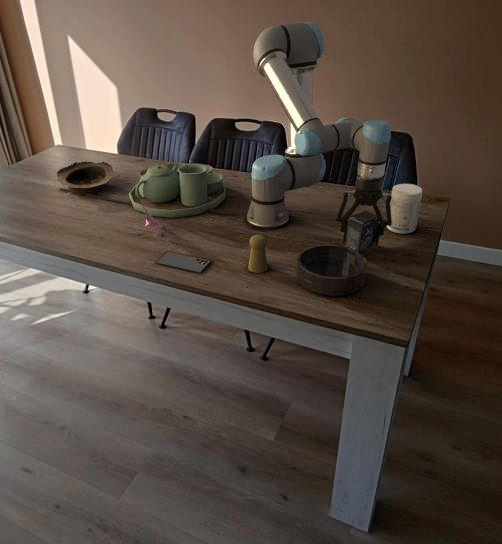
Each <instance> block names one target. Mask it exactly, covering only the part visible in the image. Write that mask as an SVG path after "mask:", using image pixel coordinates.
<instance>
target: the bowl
mask: <svg viewBox="0 0 502 544" xmlns="http://www.w3.org/2000/svg"><path fill="white" fill-rule="evenodd" d="M367 269H368V260H367V259H366V256H364V255H363V253H361V252H358V251H356V250H353V249H351V248H348V247H345V245H340V244H332V243H331V244H330V243H329V244H316V245H312V246H309V247H306V248H305V249H302V250H301V251H300V252H299V253H298V255H297V258H296V269H295V277H296V280H297V283H298V284H300V286H302V287H303V288H304V289H306V290H308V291H309V292H312V293H316V294H317V295H318V294H319V295H322V296H331V297H332V296H333V297H336V296H337V297H339V296H346V295H350V294H355V293H356V292H358V291H359V290H361V289H362V288H363V286H365V282H366V276H367Z"/></svg>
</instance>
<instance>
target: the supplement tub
mask: <svg viewBox="0 0 502 544" xmlns="http://www.w3.org/2000/svg"><path fill="white" fill-rule="evenodd" d="M390 193H391V194H392V199H391V202H390V207H391V218H392V225H391V226H386V228H387V229H388V230H389V231H390V232H393V233H395V234H402V235H403V234H405V235H406V234H411V233H413V232H414V231H416V229H417V225H418V219H419V215H420V209H421V203H422V198H423V188H422V187H421V186H419V185H416V184H412V183H399V184H395V185H394V186H393V187H392V190H391V192H390Z"/></svg>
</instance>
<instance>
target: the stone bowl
mask: <svg viewBox="0 0 502 544" xmlns="http://www.w3.org/2000/svg"><path fill="white" fill-rule="evenodd" d="M114 174H115V172H114V169H113V166H112V165H111V164H110V163H108V162H105V161H101V162H93V161H80V162H73V163H72V164H70V165H67V166H64V167H62V168H60V169H59V170H57V172H56V177H57V178H56V180H57V181H58V182H59V183H60V184H61V185H62V186H64V187H67V189H68V190H70V191H71V192H70V193H72V194H76V195H79V196H85V195H84V194H86V193H88V194H92V195H94V194H95V193H96V192H98V191H100V190H102V189H103V188H104V187H105V186H106V184H107V183H108V182H109V181H110V180H111V179H113V177H114ZM73 192H74V193H73Z"/></svg>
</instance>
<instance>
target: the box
mask: <svg viewBox="0 0 502 544" xmlns="http://www.w3.org/2000/svg"><path fill="white" fill-rule="evenodd" d="M347 221H348V226H347V234H346V242H345V243H344V247H348V248H351V249H353V250H356V251H358V252H359V253H361V252H363V251H365V250H367V249H370V248H372V247H375V240H376V234H377V228H378V223H380V222H379V220H378V217H377V215H376V213H375V214H374V213H372V212H370V211H367V210H364V211H361V212H359V213H357V214H354V215H351V216H350V217H349V219H348V220H347Z"/></svg>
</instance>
